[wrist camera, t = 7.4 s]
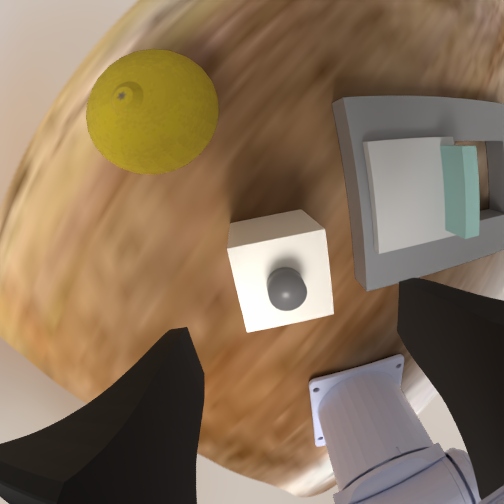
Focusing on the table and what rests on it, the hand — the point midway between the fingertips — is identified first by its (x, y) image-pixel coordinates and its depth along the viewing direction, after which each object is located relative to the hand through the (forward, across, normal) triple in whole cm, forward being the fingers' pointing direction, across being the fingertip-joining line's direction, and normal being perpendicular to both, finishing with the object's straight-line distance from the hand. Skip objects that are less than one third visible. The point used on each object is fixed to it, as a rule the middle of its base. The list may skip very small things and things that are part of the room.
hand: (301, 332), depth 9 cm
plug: (+9, 0, 0) cm, 9 cm away
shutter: (+7, -9, -2) cm, 11 cm away
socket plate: (+9, -12, -2) cm, 15 cm away
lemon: (+9, +4, -8) cm, 13 cm away
